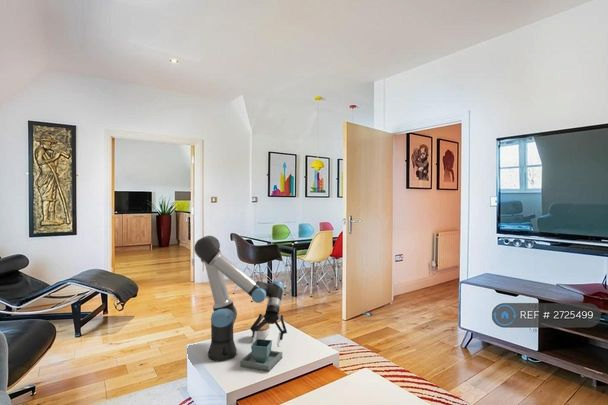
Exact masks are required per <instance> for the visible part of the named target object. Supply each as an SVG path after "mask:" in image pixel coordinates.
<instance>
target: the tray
mask: <svg viewBox="0 0 608 405" xmlns="http://www.w3.org/2000/svg"><path fill="white" fill-rule="evenodd" d="M282 359H283V351H278V350H277V351H276V350H272V349H271V352H270V355H269V357H268V359H267V360H266V362H256V361H255V360H254V358H253V355H252V350H251V351H250V352H249V353H248V354H247V355H245V356H244V357H243V358H241V360H240V361H239V363H240V364H239V367H240V368H244V369H250V370H256V371H261V372H266V373H269V372H271V370H272V369H273V368H275V366H276V365H277V364H278V363H279V362H280V361H281V360H282Z"/></svg>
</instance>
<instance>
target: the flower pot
mask: <svg viewBox="0 0 608 405" xmlns="http://www.w3.org/2000/svg"><path fill="white" fill-rule="evenodd" d="M272 345H273V340H272V339H265V340H263V339H256V340H255V342H254V343H253V344H252V343H251V346H250V348H251V351H252V355H253V358H254V360H255V361H256V362H266V360H267V359H268V357H269V355H270V352H271V350H272Z"/></svg>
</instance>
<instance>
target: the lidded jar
mask: <svg viewBox="0 0 608 405" xmlns="http://www.w3.org/2000/svg"><path fill="white" fill-rule="evenodd" d="M260 323H261V322H260ZM260 323H259V324H260ZM259 324H258V325H259ZM258 325H257V326H258ZM251 332H252V334H253V331H251ZM252 334H251V335H252ZM269 334H270V324H268V323H266V324H265V325H264V326H262V327H261V328H260V329H259V330H258V331H257V337H256V339H263V340H267V338H268V336H269Z"/></svg>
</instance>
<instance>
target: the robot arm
mask: <svg viewBox="0 0 608 405" xmlns="http://www.w3.org/2000/svg"><path fill="white" fill-rule="evenodd" d="M220 247H221V242H220V240H219V239H218V238H217V237H215V236H213V235H206V236H203V237H201V238H199V239H198V240H196V242H195V244H194V253H195V255H196V256H197V257H198V258H199V260H200V262H201V263H202V264H204V266H205V269H206V270H205V271H206V274H207V279H208V283H209V285H210V290H211V294H212V298H213V301H214V302H213V303H214V304H213V306H212V309H213V312H212V314H211V316H210V317H211V318H210V327H211V328H210V330H211V331H210V332H211V333H210V337H211V340H210V341H211V342H210V345H209V349H208V351H207V352H208V353H207V357H208V359H209V360H210V361H212V362H226V361H229V360H232V359H234V358H235V357H236V356H237V350H238V349H237V347H236V343H235V340H234V325H235V321H236V319H237V315H238V312H237V309H236V307H235V305H234V302H233V300H232V299H231V298H230V297H229V293H228V292H229V291H228V288H227V285H226V281H225V277H226V278H227V279H229V280H230V281H231V282H233V283H234V284H235V285H236V286H237V287H239V288H240V289H241V290H242V291H244V292H245V293H246V294H247V295H249V296H250V297H251V299H252V300H253V302H254V303H257V304H259V303H262V302H264V301H265V299H266V298H267V297H268V299H267V304H266V309H265V313H264V314H262V313H259V315H258V317H257V319H256V320H255V321H254V322H253V324H252V325H251V327H250V329H249V330H251V332H252V331H253V334H251V337H252V342H251V345H252V344H253V343H254V342H255V340H256V337H257V331H258V330H259V329H260V328H261V327H262V326H264V325H265V324H266V323H267V324H269V325H273V324H275V326H276V328H277V329H278V330H279V332H278V336H277V341H276V345H277V347H278V348H280V345H281V341H283V339H284V338H283V337H284V334H288V331H287V326H286V325H285V320H284V315H282V314H281V315H279V313H280V308H281V303H282V298H283V294H284V293H283V292H284V283H283V282H282V281H279V280H277V281H276V280H274V281H272V282H271V283H267V282H264V281H260V280H256V279H255V280H254V279H252V277H250V276H249V275H248V274H247V273H245V272H244V271H243V270H241V269H240V268H239V267H238V266H237V265H236V264H235V263H233V262H232V261H231V260H229V259H228V258H227V257H225V255H223V254H222V251H221V249H220ZM224 276H225V277H224ZM278 320H280V322H281V325H282V326H281V325H280V324H279V322H278ZM259 323H260V324H259ZM258 324H259V325H258ZM257 325H258V326H257ZM282 328H283V329H282Z"/></svg>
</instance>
